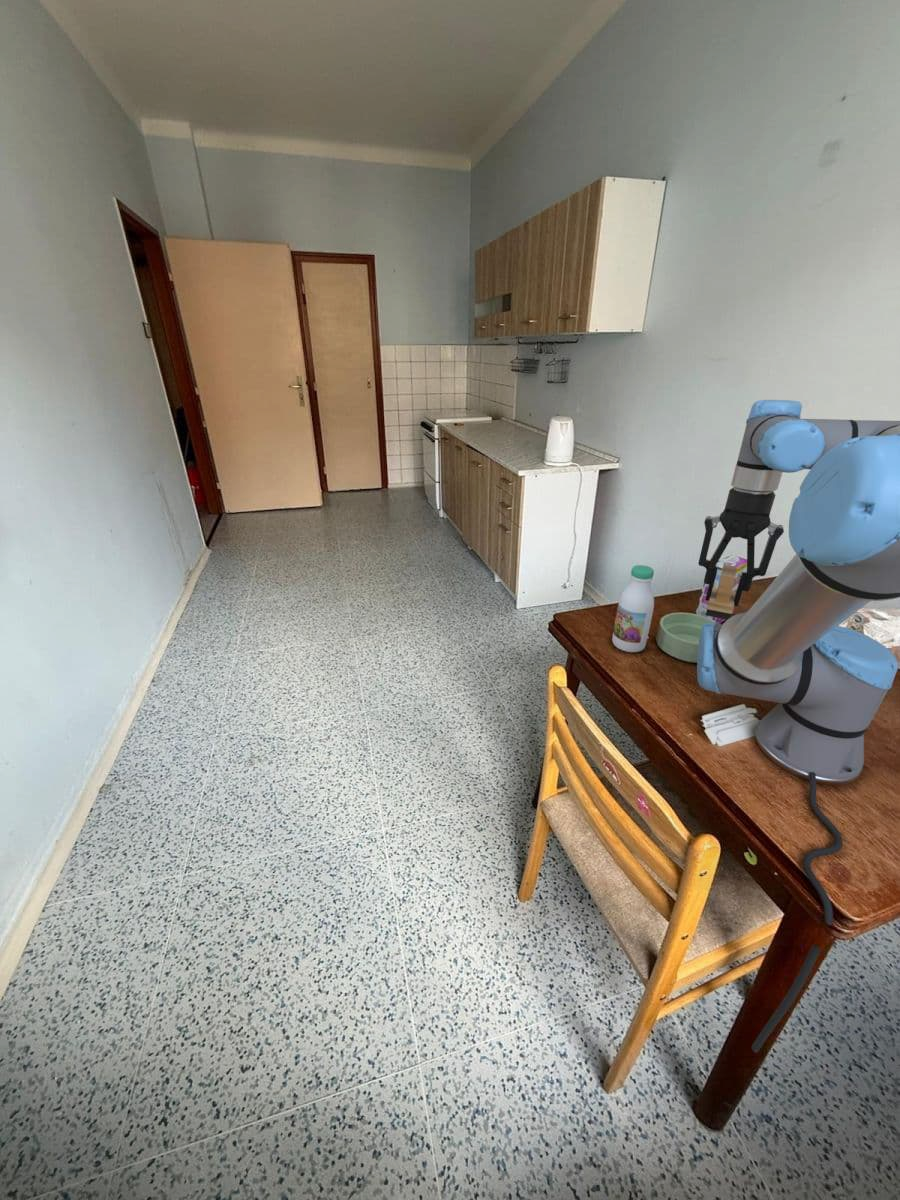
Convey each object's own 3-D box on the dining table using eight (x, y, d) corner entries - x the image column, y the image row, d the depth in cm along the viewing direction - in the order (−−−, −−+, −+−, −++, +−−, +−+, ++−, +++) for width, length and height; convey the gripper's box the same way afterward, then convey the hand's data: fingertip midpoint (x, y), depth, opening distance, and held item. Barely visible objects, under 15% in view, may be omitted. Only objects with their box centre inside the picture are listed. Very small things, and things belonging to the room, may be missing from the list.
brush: (730, 620, 96) (741, 580, 91) (705, 615, 98) (715, 576, 93) (732, 603, 102) (742, 565, 97) (708, 599, 104) (718, 561, 99)
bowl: (718, 672, 103) (725, 651, 101) (650, 653, 110) (655, 633, 107) (723, 641, 114) (729, 621, 111) (661, 626, 120) (665, 607, 118)
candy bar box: (711, 630, 118) (728, 571, 110) (692, 622, 122) (707, 564, 114) (733, 617, 124) (751, 559, 116) (714, 609, 127) (731, 553, 120)
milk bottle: (625, 632, 118) (639, 559, 109) (652, 646, 112) (669, 570, 103) (604, 641, 115) (617, 566, 105) (631, 657, 109) (647, 579, 99)
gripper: (807, 490, 87) (770, 602, 97) (702, 480, 95) (678, 585, 105) (811, 499, 81) (771, 618, 92) (699, 488, 89) (673, 598, 100)
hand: (721, 600), depth 98 cm, fingers closed on brush, 4 cm apart
